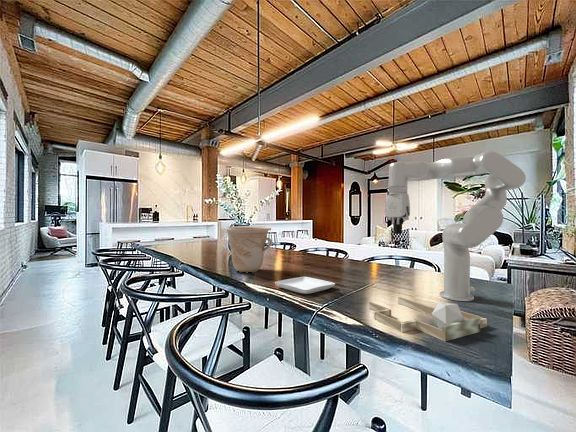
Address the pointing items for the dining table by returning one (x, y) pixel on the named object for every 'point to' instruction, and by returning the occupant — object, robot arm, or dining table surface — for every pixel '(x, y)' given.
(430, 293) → the dining table surface
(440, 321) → the die
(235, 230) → the vessel
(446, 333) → the channel
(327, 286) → the salad plate
